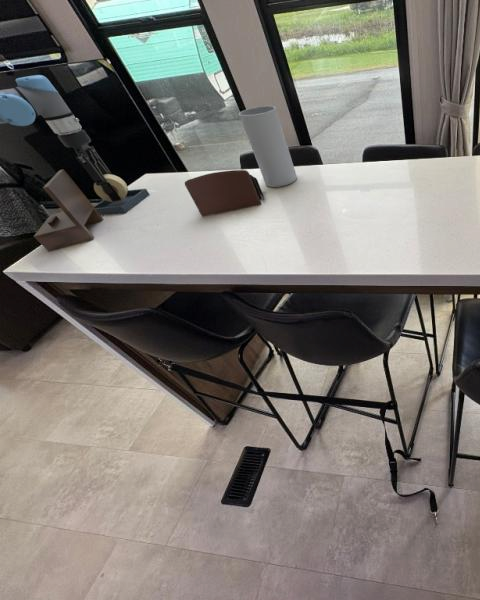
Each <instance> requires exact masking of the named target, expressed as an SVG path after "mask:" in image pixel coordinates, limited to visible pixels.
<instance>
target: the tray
mask: <svg viewBox="0 0 480 600" xmlns="http://www.w3.org/2000/svg"><path fill="white" fill-rule="evenodd" d="M149 196H150V193H149V191H148V190H147V188H138V189H128V192H127V195H126V197H125V198H124V199H123V200H122V201H119V202H109V201H106V200H104V199H102V200H101V201H99V202H98V203H97V204H95V205H93V206H94V208H95V209H96V210H97V211H98V213H99V214H100V215H101V216H106V215H107V216H108V215H117V214H126V213H128V212H129V211H131V210H132V209H133V208H134V207H136V206H137V205H138V204H139V203H141V202H142V201H143V200H145V199H146V198H147V197H149Z"/></svg>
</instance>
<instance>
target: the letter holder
mask: <svg viewBox="0 0 480 600" xmlns="http://www.w3.org/2000/svg"><path fill="white" fill-rule="evenodd" d="M184 186H185V188H186V190H187V192H188V193H189V195H190V197H191V198H192V201H193V203H194V205H195V206H196V208H197V210H198V213H200V215H201V217H205V216H210V215H216V214H220V213H221V214H222V213H225V212H229V211H236V210H241V209H247V208H250V207H256V206H261V205H262V201H261V200H263V201H264V200H265V196H264V193H263V191H262V188H261V186H260V183H259V180H258V178H257V177H255V176H254V175H252V174H250V172H249V171H248V170H246V169H233V170H225V171H224V170H223V171H216V172H211V173H206V174H203V175H199V176H196V177H193V178H190V179H187V180H185V182H184Z"/></svg>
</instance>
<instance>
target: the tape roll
mask: <svg viewBox="0 0 480 600" xmlns="http://www.w3.org/2000/svg"><path fill="white" fill-rule="evenodd" d="M111 174H112V173H111ZM111 174H105V175H103V176H104V177H105V179H106V180H107V182H109V183H110V184H111V186H112V187H113V188H114V190H115V191H116V192H117V194H118V195H119V197H120V198H121V200H118V201H112V200H111V199H110V197H109V196H108V195H107V193H106V192H105V191H104V189H103V188H102V187H101V185H99V186H97V185H96V183H95V182H94V183H93V190H94V192H95V193H96V195H97V196H98V197H99V198H101V200H106V201H109V202H119V201H122V200H123V199H124V198H125V197H126V195H127V192H128V190H129V186H128V185H127V183H126V181H125V180H124V179H122V178H121V177H120V176H117V175H115V174H113V175H111Z"/></svg>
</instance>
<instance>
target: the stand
mask: <svg viewBox="0 0 480 600" xmlns="http://www.w3.org/2000/svg"><path fill="white" fill-rule="evenodd" d="M42 189H43V190H44V192H45V193H46V194H47V195H48V196H49V197H50V198H51V200H53V202H54V203H55V204H56V205H57V206H58V207H59V208H60V209H61V212H56V213H52V214H49V216H48V217H47V218H46V220H45V221H44V222H43V224H42V225H41V226H40V227H39V229H38V230H37V231H36V232H35V234H34V235H33V238H35V240H36V241H37V242H38V243H39V244H41V246H43V248H44V249H45V250H46V251H47V252H53V251H57V250H60V249H64V248H68V247H73V246H76V245H80V244H83V243H87V242H91V241H94V240H95V236H94V235H93V234H92V233H91V231H90V230H89V229H88V228H87V226H88V225H92V224H96V223H101V222H103V221H104V220H105V219H104V218H103V216H102V215H100V214H99V213H98V211H97V210H96V209H95V208H94V206H95V205H93V204H92V203H91V201H90V200H89V199H88V197H87V196H86V195H85V194H84V193H83V191H82V190H81V189H80V187H79V186H78V185H77V184H76V182H75V181H74V180H73V179H72V177H70V175H69V174H68V173H67V171H66V170H65V169H59V170H58V171H57V172H56V173H55V174H54V176H52V178H51V179H50V180H49V181H47V183H46V184H45V185H44V186H43V187H42Z"/></svg>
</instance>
